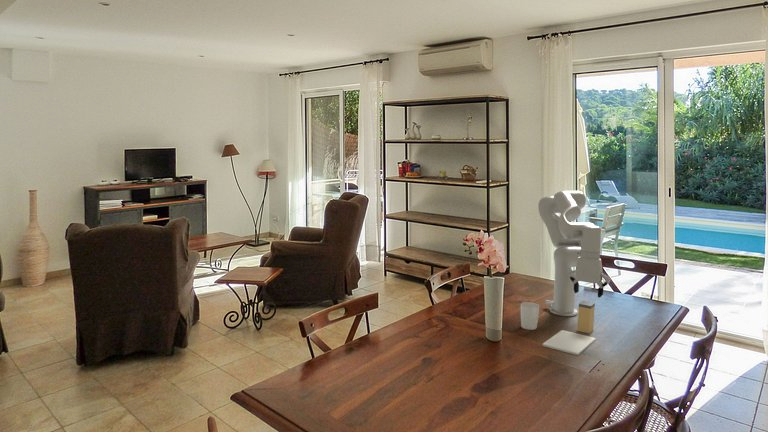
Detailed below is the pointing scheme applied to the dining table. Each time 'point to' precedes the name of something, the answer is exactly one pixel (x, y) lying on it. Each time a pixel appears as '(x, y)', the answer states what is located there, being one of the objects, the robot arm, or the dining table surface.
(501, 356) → the dining table surface
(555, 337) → the white board
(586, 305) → the ochre block
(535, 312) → the white cup
